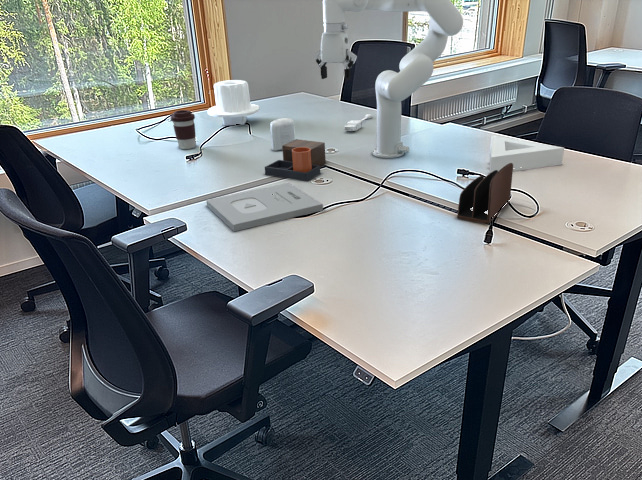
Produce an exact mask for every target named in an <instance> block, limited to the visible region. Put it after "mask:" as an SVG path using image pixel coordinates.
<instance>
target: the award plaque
mask: <svg viewBox="0 0 642 480" xmlns="http://www.w3.org/2000/svg"><path fill="white" fill-rule="evenodd" d="M271 194H274V195H271ZM205 201H206V202H205V203H206V207H207V208H208V209H209V210H210V211H211V212H212V213H214V214H215V215H216V216H217V217H218V218H219V219H220V220H221V221H222V222H223V223H224V224H225V225H227V227H229V228H230V229H231V230H232V231H233V232H237V231H242V230H246V229H250V228H256V227H258V226H262V225H267V224H272V223H276V222H279V221H280V222H281V221H284V220H288V219H292V218H296V217H300V216H305V215H309V214H313V213H314V214H315V213H318V212H322V211H324V203H322V202H320V201H319V200H317V199H315V198H314V197H313V196H311V195H309V194H308V193H306V192H305V191H303V190H302V189H300V188H298V187H297V186H295V185H293V184H292V183H291V182H284V183H280V184H275V185H271V186H266V187H261V188H257V189H252V190H247V191H246V190H245V191H242V192H238V193H233V194H227V195H223V196H219V197H214V198H209V199H206V200H205Z"/></svg>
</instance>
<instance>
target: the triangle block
mask: <svg viewBox="0 0 642 480" xmlns="http://www.w3.org/2000/svg"><path fill="white" fill-rule="evenodd" d="M564 153H565V147H563V146H558V145H551V144H546V143H540V142H535V141H529V140H523V139H518V138H517V139H516V138H511V137H506V136H499V135H494V134H491V137H490V145H489V174H490V173H491V172H493V171H495V170H498V171H499V170H500V169H502V168H503V167H504V166H506V165H507V164H509V163H512V164H513V168H515V169H513V172H519V171H525V170H533V169H541V168H546V167H547V168H548V167H554V166H555V167H556V166H561V165H563V159H564ZM520 167H522V168H520Z"/></svg>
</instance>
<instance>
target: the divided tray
mask: <svg viewBox="0 0 642 480" xmlns="http://www.w3.org/2000/svg"><path fill="white" fill-rule="evenodd" d="M264 173H265V175H266V176H271V177H278V178H284V179H289V180H297V181H303V182H309V181H310V180H312V179H314V178H316V177H317V176H319V175H321V166H318V165H312V170H310V171H308V172H307V173H305V172H299V171H293V162H290V161H283V159H277V160H275V161H274V162H272V163H270V164H267V165H265V166H264Z"/></svg>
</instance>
